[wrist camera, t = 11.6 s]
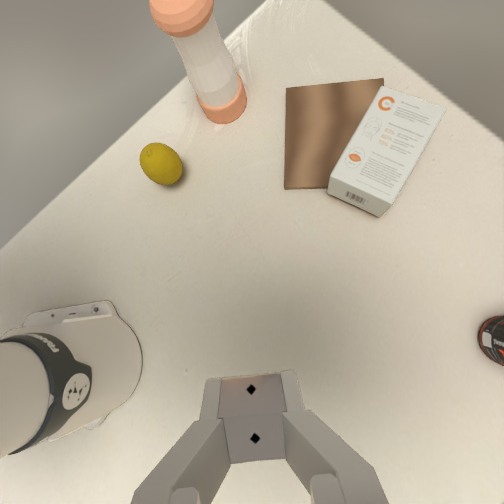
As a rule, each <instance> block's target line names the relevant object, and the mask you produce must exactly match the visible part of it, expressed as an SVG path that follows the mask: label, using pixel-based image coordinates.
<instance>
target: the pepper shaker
mask: <svg viewBox="0 0 504 504" xmlns="http://www.w3.org/2000/svg"><path fill="white" fill-rule="evenodd" d="M213 3H214V0H149V5H150V10H151V14H152V18H153V20H154V21H155V23H156V24H157V26H158V27H159V28H160V29H161V30H163V31H164V32H166V33H167V34H169V35H170V36H171V38H172V40H173V42H174V44H175V45H176V47H177V49H178V51H179V53H180V55H181V57H182V60H183V63H184V66H185V69H186V71H187V75H188V78H189V81H190V83H191V84H192V86H193V88H194V89H195V91H196V94H197V99H198V101H199V103H200V105H201V107H202V109H203V110H204V112H205V114H206V115H207V117H208V118H209V119H210V120H211V121H213V122H215V123H218V124H226V123H230V122H233V121H234V120H236V119H237V118H239V116H240V115H241V114H242V113H243V112H244V109H245V107H246V102H247V98H246V94H245V90H244V87H243V84H242V80H241V78H240V76H239V75H238V73H237V72H236V69H235V66H234V62H233V59H232V57H231V55H230V53H229V51H228V50H227V48H226V46H225V44H224V42H223V40H222V38H221V36H220V33H219V30H218V28H217V25H216V22H215V19H214V16H213V13H212V11H213Z"/></svg>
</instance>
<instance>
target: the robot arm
mask: <svg viewBox="0 0 504 504" xmlns="http://www.w3.org/2000/svg"><path fill="white" fill-rule="evenodd" d="M97 308H98V311H97ZM141 367H142V357H141V350H140V346H139V343H138V340H137V338H136V336H135V334H134V333H133V331H132V330H131V329H130V327H129V326H128V325H127V324H126V323H124V322H123V321H122V320H121V319H120V318H119V317H118V315H117V313H116V310H115V308H114V306H113V305H112V303H111V302H110V301H107V300H106V301H99V302H93V303H88V304H82V305H76V306H70V307H65V308H59V309H53V310H47V311H42V312H36V313H32V314H30V315H29V316H28V317H27V318H26V320H25V321H24V323H23V325H22V327H21V328H15V329H10V330H8V331H7V332H6V333H5V334H4V335H3V337H2V338H1V340H0V459H1V458H2V457H4V456H6V455H10V454H15V453H18V452H21V451H23V450H25V449H28V448H30V447H33V446H35V445H37V444H39V443H40V442H42V441H44V440H45V439H47V440H49V441H55V440H58V439H60V438H62V437H64V436H66V435H68V434H70V433H72V432H74V431H76V430H78V429H80V428H82V427H83V428H86V429H89V430H92V429H94V428H96V427H98V426H99V425H100V424H101V423H102V422H103V421H104V419H105V418H106V417H107V415H108V413H110V412H111V411H112V410H114V409H115V408H117V407H119V406H120V405H122V404H123V403H124V402H125V401H126V400H127V399H128V398H129V397H130V396H131V394H132V393H133V391H134V390H135V388H136V386H137V383H138V381H139V378H140V374H141ZM273 459H286V461H287V463H288V464H289V465H290V467H291V468H292V470H293V471H294V472H295V474H296V475H297V477H298V478H299V480H300V481H301V482H302V484H303V485H304V487H305V488H306V490H307V491H308V492H309V494H310V495H311V504H389V503H388V501H387V498H386V496H385V494H384V491H383V489H382V487H381V484H380V482H379V479H378V477H377V475H376V472H375V470H374V468H373V467H372V466H371V465H370V464H369V463H368V462H367V461H366V460H365V459H363V458H362V457H361V456H360V455H359V454H358V453H357V452H356V451H355V450H354V449H352V448H351V447H350V446H349V445H348V444H347V443H346V442H345V441H344V440H343V439H341V438H340V437H339V436H338V435H337V434H336V433H335V432H334V431H333V430H332V429H331V428H329V427H328V426H327V425H326V424H325V423H324V422H323V421H322V420H321V419H320V418H318V417H317V416H316V415H315V414H314V413H313V412H312V411H311V410H305V407H304V403H303V399H302V395H301V391H300V387H299V383H298V379H297V375H296V372H295V370H289V371H281V372H274V373H265V374H256V375H245V376H232V377H222V378H210V379H207V381H206V383H205V389H204V395H203V401H202V407H201V413H200V418H199V421H194V423H193V424H192V425H191V426H190V427H189V428H188V430H187V431H186V432H185V433H184V434H183V435H182V437H181V438H180V439H179V440H178V441H177V442H176V444H175V445H174V446H173V447H172V448H171V449H170V451H169V452H168V453H167V454H166V455H165V456H164V458H163V459H162V460H161V461H160V462H159V463H158V465H157V466H156V467H155V468H154V469H153V470H152V472H151V473H150V474H149V475H148V476H147V477H146V479H145V480H144V481H143V482H142V483H141V484H140V486H139V487H138V488H137V489H136V490H135V492H134V495H133V498H132V501H131V504H211V502H212V501H213V499H214V497H215V495H216V493H217V491H218V489H219V487H220V485H221V483H222V482H223V480H224V478H225V476H226V474H227V472H228V470H229V468H230V464H235V463H243V462H250V461H258V460H273Z"/></svg>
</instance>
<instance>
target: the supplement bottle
mask: <svg viewBox="0 0 504 504" xmlns="http://www.w3.org/2000/svg"><path fill="white" fill-rule="evenodd" d="M479 341H480V346H481V348H482V350H483V351H484V353H485V354H486V355H487V356H488V357H489V358H490V359H492V360H493V361H495V362H496V363H498V364H500V365H502V366H504V316H497V317H494V318H491V319H490V320H488V321H487V322H485V323H484V325H483V326H482V327H481V330H480V333H479Z"/></svg>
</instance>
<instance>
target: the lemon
mask: <svg viewBox="0 0 504 504" xmlns="http://www.w3.org/2000/svg"><path fill="white" fill-rule="evenodd" d="M140 165H141V168H142V169H143V171H144V173H145V174H146V175H147V176H148V177H149V178H150V179H151V180H152V181H154V182H156V183H158V184H162V185H169V184H173V183H174V182H176V181H177V180H178V179H179V178H180V176H181V174H182V169H183V167H182V162H181V159H180V157H179V156H178V154H177V153H176V152H175V151H174V150H173V149H172V148H170V147H169V146H167V145H165V144H162V143H151V144H149V145H147V146H146V147H144V149H143V150H142V152H141V154H140Z"/></svg>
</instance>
